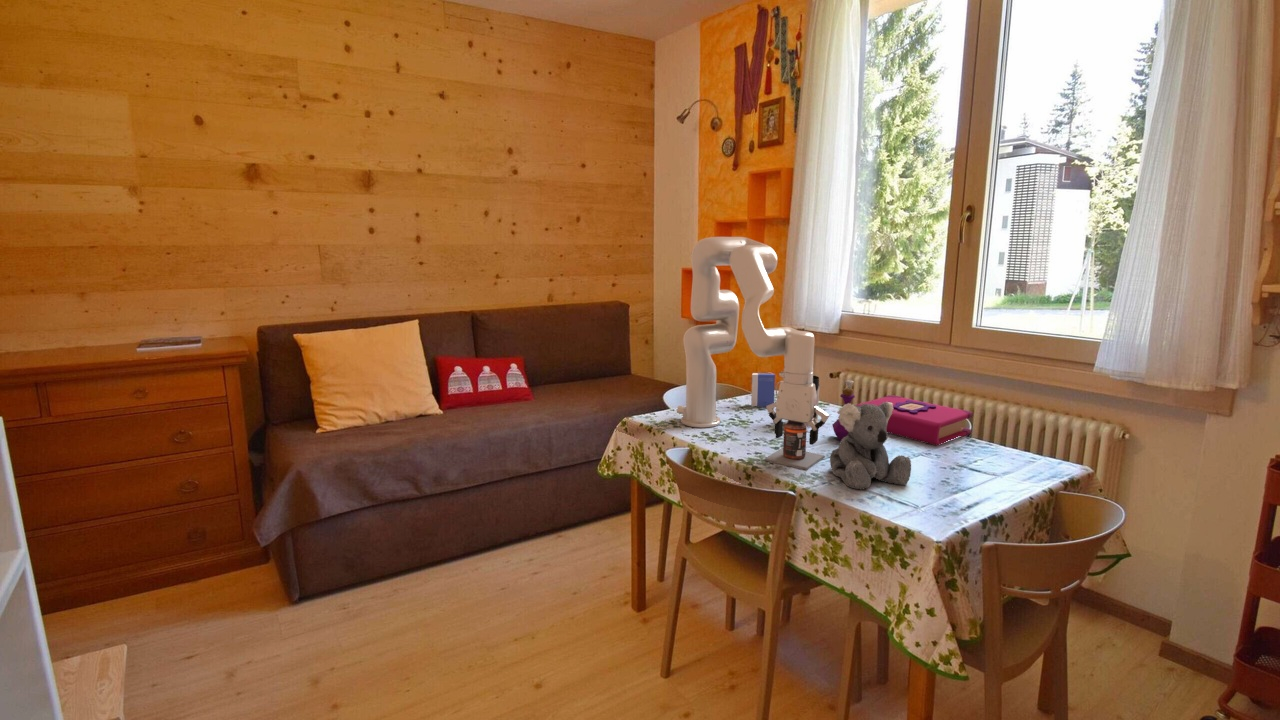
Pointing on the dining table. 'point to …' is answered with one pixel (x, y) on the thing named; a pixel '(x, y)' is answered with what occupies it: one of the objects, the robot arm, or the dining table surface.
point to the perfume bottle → (847, 398)
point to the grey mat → (803, 463)
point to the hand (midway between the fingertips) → (795, 440)
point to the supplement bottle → (794, 440)
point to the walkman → (762, 389)
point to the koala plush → (867, 448)
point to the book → (924, 420)
